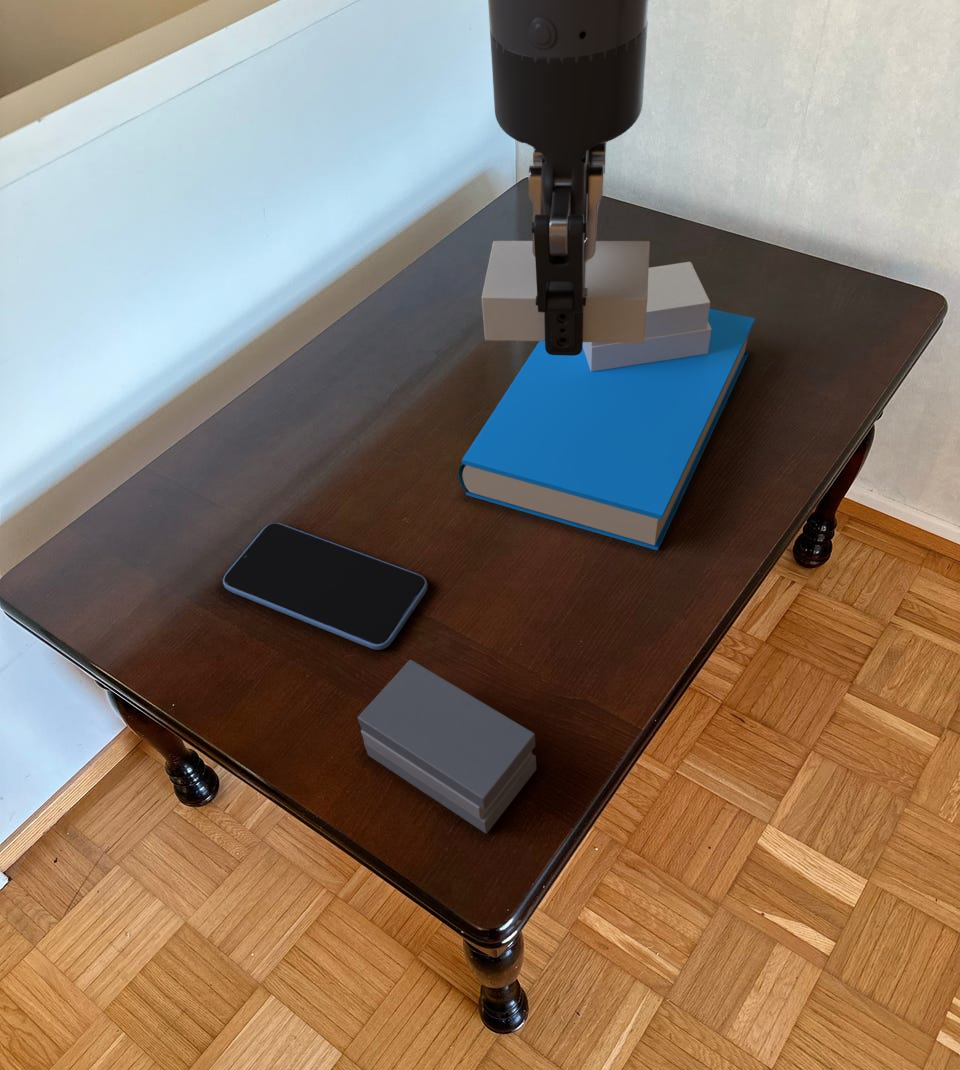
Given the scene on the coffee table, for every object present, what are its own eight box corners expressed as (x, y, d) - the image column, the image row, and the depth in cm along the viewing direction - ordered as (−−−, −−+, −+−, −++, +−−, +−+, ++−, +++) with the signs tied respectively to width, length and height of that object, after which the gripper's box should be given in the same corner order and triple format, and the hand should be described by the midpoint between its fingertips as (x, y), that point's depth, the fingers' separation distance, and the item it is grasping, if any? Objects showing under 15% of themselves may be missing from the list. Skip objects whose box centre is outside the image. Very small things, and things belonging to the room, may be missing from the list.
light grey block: (646, 284, 59) (649, 240, 56) (644, 343, 55) (647, 299, 53) (496, 283, 60) (493, 240, 58) (484, 340, 57) (481, 297, 54)
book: (755, 316, 81) (666, 513, 68) (747, 358, 85) (661, 552, 72) (570, 279, 86) (454, 456, 73) (569, 320, 90) (459, 495, 77)
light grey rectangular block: (688, 311, 82) (695, 259, 78) (707, 354, 79) (715, 302, 75) (576, 328, 82) (577, 277, 78) (590, 372, 78) (592, 320, 74)
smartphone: (383, 649, 67) (215, 582, 72) (385, 655, 68) (219, 589, 73) (432, 575, 71) (270, 516, 75) (433, 582, 71) (272, 523, 76)
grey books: (538, 769, 62) (536, 732, 58) (487, 835, 59) (482, 800, 55) (419, 696, 66) (409, 656, 62) (367, 755, 63) (354, 717, 59)
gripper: (644, 85, 40) (624, 397, 54) (651, -49, 48) (632, 252, 62) (470, 88, 41) (494, 394, 55) (506, -43, 49) (519, 251, 63)
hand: (567, 317), depth 58 cm, fingers closed on light grey block, 5 cm apart
